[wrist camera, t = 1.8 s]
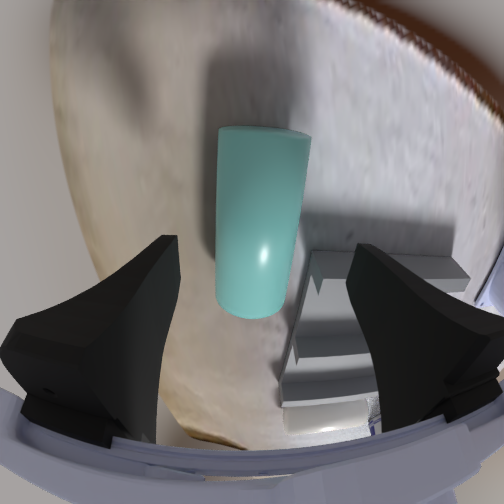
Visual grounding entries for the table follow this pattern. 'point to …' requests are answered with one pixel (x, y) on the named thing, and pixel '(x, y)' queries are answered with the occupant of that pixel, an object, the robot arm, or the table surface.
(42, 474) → the robot arm
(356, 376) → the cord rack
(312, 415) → the white rod
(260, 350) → the table surface
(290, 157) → the teal rod
